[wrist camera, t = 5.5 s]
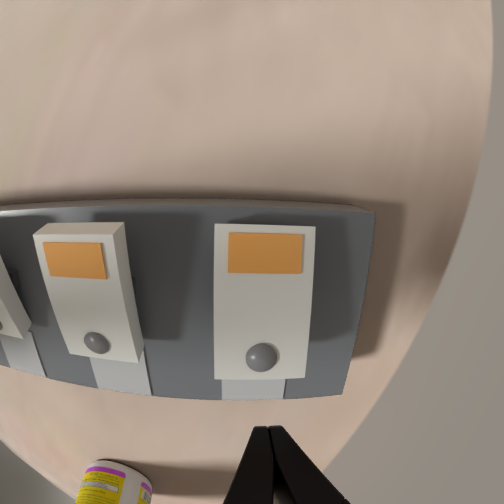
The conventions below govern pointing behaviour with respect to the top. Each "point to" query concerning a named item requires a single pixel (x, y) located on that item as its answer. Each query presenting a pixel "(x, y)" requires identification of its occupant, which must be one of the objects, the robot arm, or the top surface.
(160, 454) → the top surface
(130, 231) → the rocker switch panel
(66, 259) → the rocker middle
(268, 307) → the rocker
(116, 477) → the supplement bottle
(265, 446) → the robot arm
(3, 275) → the block
